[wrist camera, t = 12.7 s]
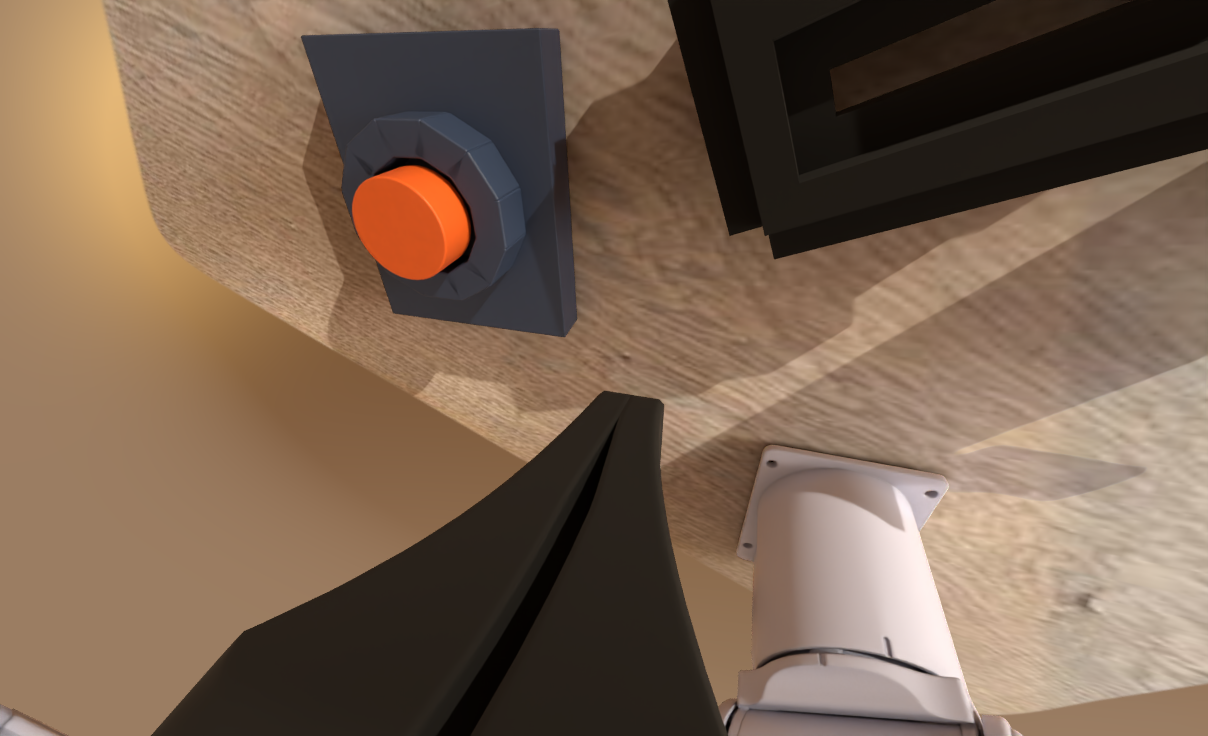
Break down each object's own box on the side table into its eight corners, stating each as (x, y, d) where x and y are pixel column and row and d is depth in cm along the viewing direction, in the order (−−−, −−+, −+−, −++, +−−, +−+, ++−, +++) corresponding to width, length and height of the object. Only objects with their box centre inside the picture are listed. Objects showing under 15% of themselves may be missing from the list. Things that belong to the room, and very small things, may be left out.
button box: (577, 319, 21) (550, 360, 19) (413, 298, 23) (368, 332, 21) (559, 29, 15) (514, 27, 12) (335, 35, 17) (254, 35, 14)
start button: (480, 266, 17) (455, 285, 16) (400, 257, 18) (371, 275, 17) (460, 166, 15) (431, 179, 14) (371, 162, 16) (335, 173, 15)
